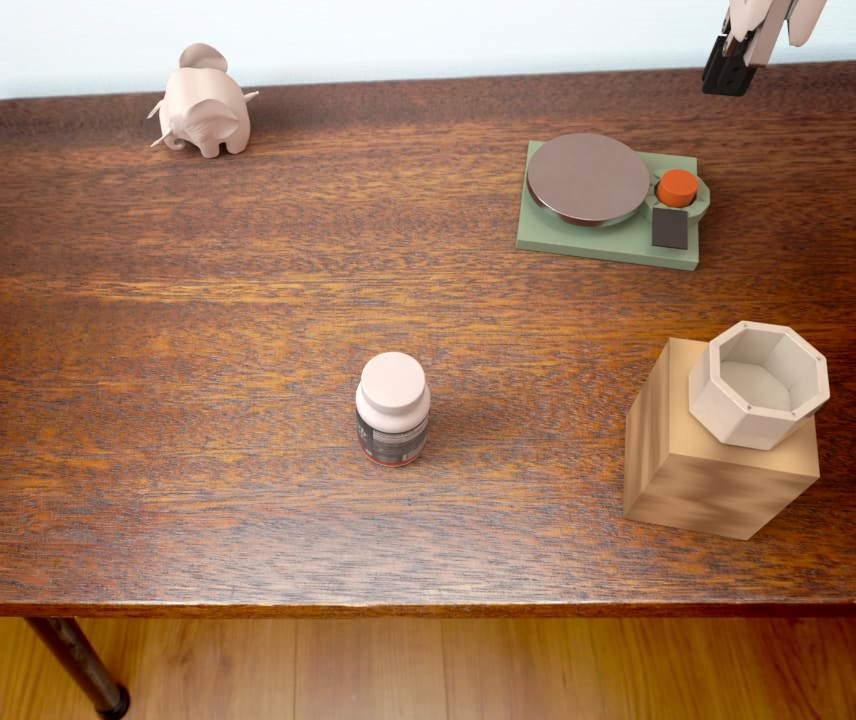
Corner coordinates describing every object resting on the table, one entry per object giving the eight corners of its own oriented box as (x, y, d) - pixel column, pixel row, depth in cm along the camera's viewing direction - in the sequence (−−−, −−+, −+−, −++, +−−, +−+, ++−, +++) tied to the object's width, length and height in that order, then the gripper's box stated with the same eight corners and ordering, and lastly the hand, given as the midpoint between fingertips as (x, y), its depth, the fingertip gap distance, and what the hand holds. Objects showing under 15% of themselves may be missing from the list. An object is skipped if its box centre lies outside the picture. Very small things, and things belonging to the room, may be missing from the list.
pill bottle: (357, 406, 69) (354, 344, 61) (425, 406, 69) (431, 343, 60) (357, 469, 66) (354, 412, 58) (427, 469, 66) (434, 412, 57)
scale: (698, 168, 81) (708, 145, 78) (700, 272, 74) (711, 251, 72) (527, 150, 83) (532, 127, 81) (515, 248, 77) (519, 227, 74)
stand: (742, 434, 66) (808, 356, 56) (746, 540, 61) (820, 477, 51) (625, 416, 67) (669, 336, 57) (622, 518, 63) (669, 452, 53)
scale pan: (686, 150, 78) (689, 143, 77) (687, 250, 72) (690, 243, 71) (531, 134, 80) (532, 127, 79) (519, 229, 74) (521, 222, 73)
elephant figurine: (149, 120, 89) (128, 51, 82) (257, 99, 90) (246, 29, 82) (158, 182, 84) (136, 116, 77) (272, 160, 85) (261, 92, 77)
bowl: (792, 367, 55) (823, 330, 51) (800, 458, 52) (833, 426, 48) (686, 352, 56) (709, 315, 52) (687, 440, 53) (711, 407, 49)
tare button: (692, 184, 76) (698, 171, 75) (692, 210, 75) (698, 197, 73) (656, 180, 77) (661, 167, 75) (655, 206, 75) (661, 192, 74)
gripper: (916, -81, 45) (778, 161, 61) (882, -216, 52) (766, 30, 68) (771, -89, 46) (672, 150, 62) (757, -220, 54) (672, 23, 69)
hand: (722, 86), depth 65 cm, fingers closed
